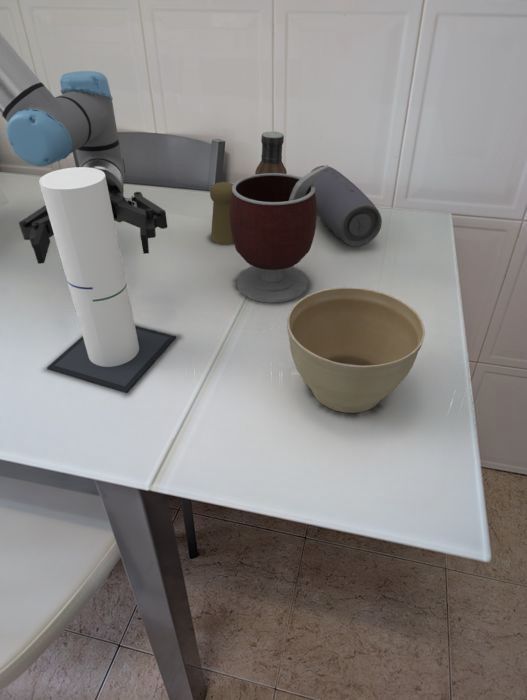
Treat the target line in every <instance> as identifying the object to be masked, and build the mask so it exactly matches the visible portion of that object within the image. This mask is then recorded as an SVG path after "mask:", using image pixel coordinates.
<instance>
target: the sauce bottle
mask: <svg viewBox="0 0 527 700" xmlns="http://www.w3.org/2000/svg"><path fill="white" fill-rule="evenodd" d="M284 137H285V136H284V134H283V133H282V132H281V131H275V130H273V131H265V132H262V133H261V137H260V138H261V139H260V141H261V155H260V156H261V161H260V162H259V164H257V165H258V166H257V167H256V169H255V172H254V175H257V174H265V173H280V174H288V172H287V169H286V167H285V164H284V163H283V145H284V142H285V141H284V140H285V138H284Z"/></svg>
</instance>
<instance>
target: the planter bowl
mask: <svg viewBox="0 0 527 700" xmlns="http://www.w3.org/2000/svg"><path fill="white" fill-rule="evenodd" d="M286 329H287V334H288V339H289V348H290V353H291V357H292V360H293V364H294V366H295V367H296V370H297V371H298V373H299V376H300V377H301V378H302V380H303V381H304V383H305V384H306V385H307V387H308V388H309V389H310V390H311V392H312V395H313V396H314V398H315V399H316V400H317V401H318V402H319V403H320V404H321V405H323V406H324V407H327V408H328V409H331V410H332V411H336V412H340V413H346V414H355V413H356V414H357V413H362V412H366V411H369V410H370V409H373V408H374V407H376V406H377V405H378V404H379V403H380V402H381V401H382V399H384V398H385V397H387V396H389V395H390V394H391V393H392V392H393V391H395V390H396V389H397V388H398V387H399V386H400V385H401V384H402V382H403V381H404V380H405V379H406V377H407V376H408V375H409V373H410V371H411V370H412V368H413V367H414V364H415V361H416V359H417V357H418V354H419V351H420V350H421V348H422V346H423V343H424V340H425V335H426V329H425V325H424V322H423V320H422V318H421V316H420V315H419V313H418V312H417V311H416V310H414V308H413V307H412V306H410V305H409V304H407V303H406V302H405V301H403V300H401V299H400V298H397V297H395V296H394V295H391V294H388V293H385V292H382V291H379V290H374V289H370V288H363V287H352V286H351V287H350V286H347V287H346V286H343V287H342V286H341V287H329V288H325V289H321V290H317V291H314V292H311V293H309V294H307V295H306V296H303V297H302V298H300V299H299V300H298V301H297V302H296V303H294V305H293V306H292V307H291V308H290V311H289V313H288V315H287V319H286Z"/></svg>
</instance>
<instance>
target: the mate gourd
mask: <svg viewBox="0 0 527 700" xmlns="http://www.w3.org/2000/svg"><path fill="white" fill-rule="evenodd" d="M323 166H324V167H321V168H319V169H316V170H314V171H312V170H311V171H312V172H311V171H310V172H308V173H306V174H305V175H303V176H298V175H294V174H291V173H290V174H289V173H287V174H280V173H265V174H257V175H255V174H252V175H247V176H244V177H242V178H240V179H238V180H236V181H235V182H234V183H232V184H233V186H232V194H231V201H230V229H231V234H232V239H233V243H232V244H233V246H234V248H235V251H236V253H238V254H239V255H240V256H241V258H242V259H243V260H244V261H245V262H246V263H247V264H248V265H249V267H248V268H246V269H244V270H243V271H241V272H240V273H239V274H238V276H237V280H236V281H237V288H238V291H239V292H240V293H241V294H242V295H243V296H245V297H246V298H249V299H251V300H253V301H257V302H261V303H271V304H272V303H273V304H274V303H284V302H285V303H286V302H288V301H292V300H295V299H297V298H298V297H301V296H302V295H303V294H304V293H305V292H306V290H307V288H308V278H307V276H306V274H305V273H304V272H302V270H300V269H298V268H297V267H294V266H296V265H298V264H299V263H300V262H301V261H302V260H303V258H305V256H306V255H307V254H308V253H309V252H310V250H311V248H312V245H313V242H314V238H315V234H316V229H317V218H318V217H317V216H318V213H317V205H316V196H315V187H314V185H313V184H312V183H313V181H314V180H315V179H316V178H317V177H318V176H319V175H321V174H322V173H324V172H326V171H329V167H330V166H329V165H328V164H327V165H323ZM328 166H329V167H328Z"/></svg>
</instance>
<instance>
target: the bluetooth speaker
mask: <svg viewBox="0 0 527 700" xmlns="http://www.w3.org/2000/svg"><path fill="white" fill-rule="evenodd" d="M324 166H325V165H319V166H316V167H315V168H313V169H312V170H311V171H310V172H312V171H314V170H316V169H319V168H321V167H324ZM328 167H329V171H326V172H324V173H322V174H321V175H319V176H318V177H317V178H316V179H315V180H314V181H313V183H312V184H313V185H314V187H315V196H316V205H317V216H318V217H319V218H320V219H321V221H322V222H323V223H324V224H325V225H326V226H327V227H328V228H329V229H330V230H331V231H332V233H333V234H334V235H335V236H336V237H338V238H339V239H340V240H342V241H343V242H344V243H346V244H347V245H349V246H351V247H360V246H365V245H367V244H370V243H371V242H372V241H374V239H375V238H377V236H378V235H379V233H380V232H381V229H382V225H383V221H382V216H381V212H380V211H379V210H378V208H377V207H376V205H375V204H374V203H373V202H372V201H371V199H370V198H369V197H368V196H367V195H366V194H365V193H364V192H363V191H362V190H361V188H359V187H358V186H357V185H356V184H354V182H352V181H351V180H350V179H348V177H346V176H345V175H343V173H342V172H339V170H337V169H335V168H334V167H331V166H329V165H328Z"/></svg>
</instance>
